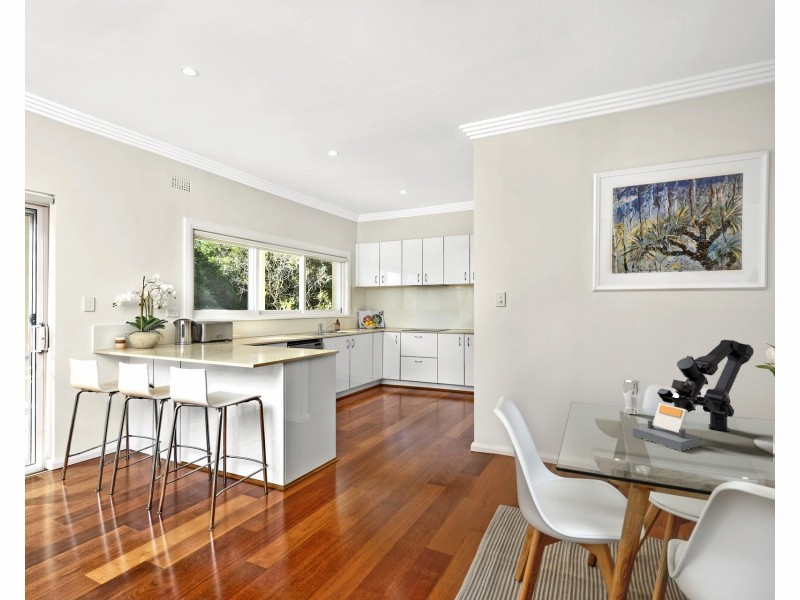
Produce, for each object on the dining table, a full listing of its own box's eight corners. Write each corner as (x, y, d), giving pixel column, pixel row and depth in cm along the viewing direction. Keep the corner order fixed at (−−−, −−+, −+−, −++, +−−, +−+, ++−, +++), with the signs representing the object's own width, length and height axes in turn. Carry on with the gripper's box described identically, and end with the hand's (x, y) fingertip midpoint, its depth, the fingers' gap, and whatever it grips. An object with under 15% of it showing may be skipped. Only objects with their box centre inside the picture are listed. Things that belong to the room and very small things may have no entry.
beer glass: (619, 412, 199) (619, 380, 199) (630, 410, 202) (630, 379, 202) (632, 416, 193) (632, 383, 193) (643, 414, 195) (643, 381, 195)
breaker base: (653, 431, 172) (653, 416, 172) (700, 446, 155) (701, 429, 155) (632, 435, 166) (633, 420, 166) (680, 451, 150) (680, 434, 150)
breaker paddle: (654, 426, 166) (661, 404, 167) (680, 434, 157) (688, 410, 158) (651, 424, 165) (658, 402, 167) (678, 432, 156) (685, 409, 158)
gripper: (660, 368, 174) (642, 398, 169) (710, 376, 157) (691, 410, 152) (672, 386, 177) (654, 416, 173) (722, 395, 160) (704, 429, 156)
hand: (675, 417), depth 163 cm, fingers closed
